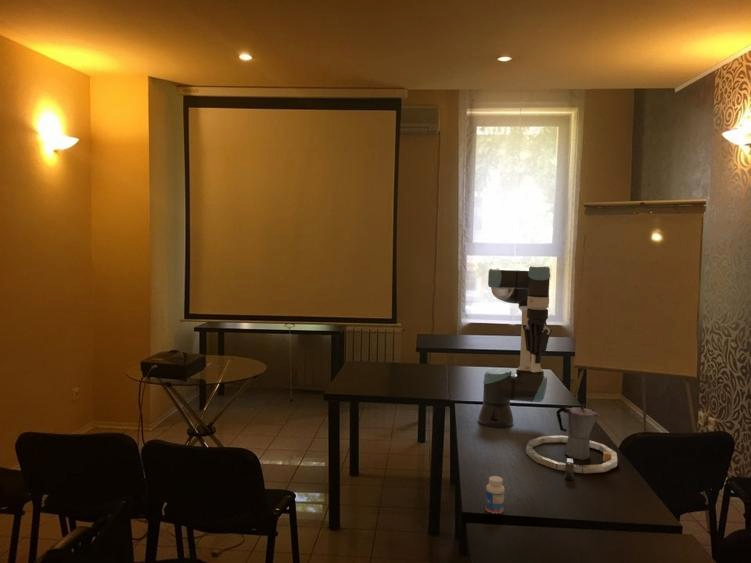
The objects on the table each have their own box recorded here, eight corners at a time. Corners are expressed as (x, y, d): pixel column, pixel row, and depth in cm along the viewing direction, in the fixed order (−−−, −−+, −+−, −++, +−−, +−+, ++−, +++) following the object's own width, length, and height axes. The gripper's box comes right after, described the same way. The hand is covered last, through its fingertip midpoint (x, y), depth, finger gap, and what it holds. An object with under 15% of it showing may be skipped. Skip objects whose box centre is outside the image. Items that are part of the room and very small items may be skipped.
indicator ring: (520, 472, 205) (521, 458, 205) (530, 436, 242) (531, 424, 242) (619, 487, 194) (620, 472, 194) (614, 447, 231) (615, 434, 231)
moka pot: (599, 462, 216) (602, 409, 215) (555, 458, 220) (557, 405, 218) (596, 453, 225) (598, 402, 224) (553, 449, 229) (556, 398, 228)
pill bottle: (483, 505, 180) (484, 474, 179) (500, 505, 180) (501, 474, 179) (488, 514, 174) (489, 482, 174) (506, 514, 175) (507, 482, 174)
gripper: (517, 306, 220) (515, 368, 222) (542, 310, 208) (539, 376, 210) (533, 305, 223) (530, 367, 225) (558, 309, 212) (555, 374, 214)
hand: (534, 371), depth 218 cm, fingers closed
